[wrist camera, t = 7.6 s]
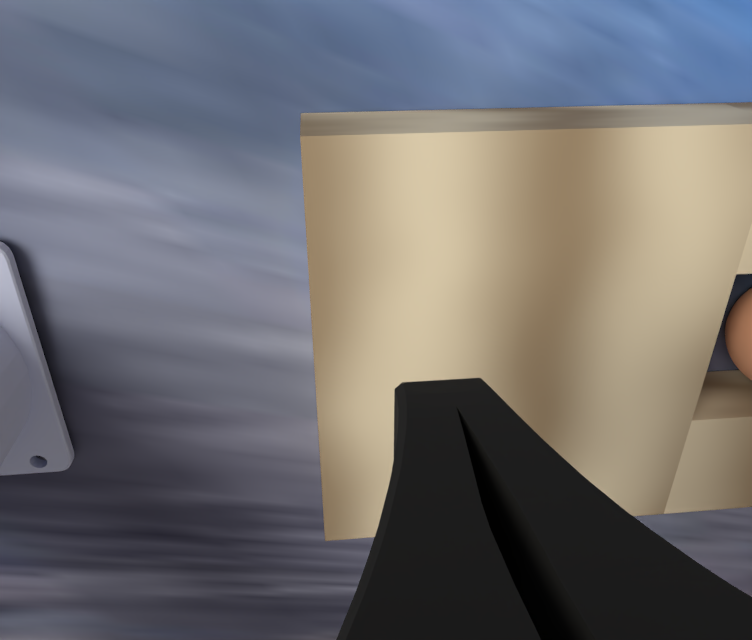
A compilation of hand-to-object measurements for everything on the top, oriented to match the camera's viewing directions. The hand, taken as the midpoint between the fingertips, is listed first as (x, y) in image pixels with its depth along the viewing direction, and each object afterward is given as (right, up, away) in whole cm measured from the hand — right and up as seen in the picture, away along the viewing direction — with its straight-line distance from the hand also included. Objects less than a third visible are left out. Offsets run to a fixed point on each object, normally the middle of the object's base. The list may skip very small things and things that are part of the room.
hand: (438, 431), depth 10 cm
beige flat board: (+6, +2, +10) cm, 12 cm away
